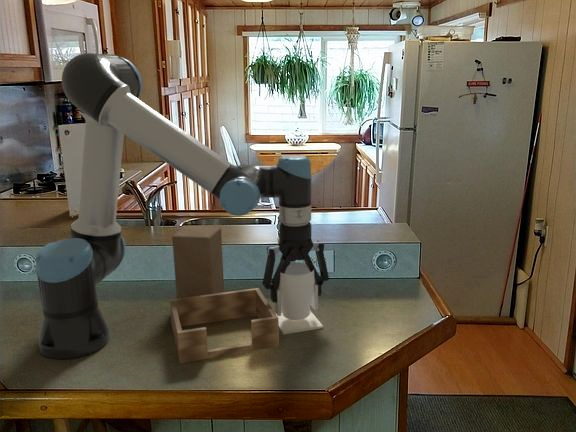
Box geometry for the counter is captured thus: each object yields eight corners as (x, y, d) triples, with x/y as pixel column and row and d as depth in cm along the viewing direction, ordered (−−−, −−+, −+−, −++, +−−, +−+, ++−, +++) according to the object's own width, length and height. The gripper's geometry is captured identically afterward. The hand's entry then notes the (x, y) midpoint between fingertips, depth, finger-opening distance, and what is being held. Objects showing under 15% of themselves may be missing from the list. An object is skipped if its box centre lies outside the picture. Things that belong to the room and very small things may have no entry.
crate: (180, 363, 112) (177, 333, 110) (172, 326, 128) (169, 299, 126) (279, 346, 118) (278, 317, 116) (259, 313, 134) (258, 287, 133)
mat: (283, 334, 123) (283, 332, 123) (271, 316, 132) (271, 314, 132) (322, 328, 126) (322, 325, 126) (308, 310, 135) (308, 308, 135)
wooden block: (212, 311, 136) (208, 237, 131) (176, 308, 138) (171, 235, 133) (225, 295, 146) (221, 226, 140) (191, 293, 147) (186, 225, 142)
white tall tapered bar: (102, 204, 252) (93, 120, 242) (114, 209, 242) (105, 122, 231) (59, 211, 239) (48, 123, 229) (70, 217, 229) (59, 125, 219)
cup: (289, 303, 134) (289, 259, 131) (320, 311, 130) (321, 265, 127) (270, 317, 127) (269, 271, 124) (303, 326, 123) (303, 278, 119)
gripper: (254, 231, 116) (257, 323, 122) (344, 221, 122) (343, 310, 128) (246, 222, 123) (250, 310, 129) (332, 214, 129) (331, 298, 135)
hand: (296, 310), depth 128 cm, fingers closed on cup, 9 cm apart
